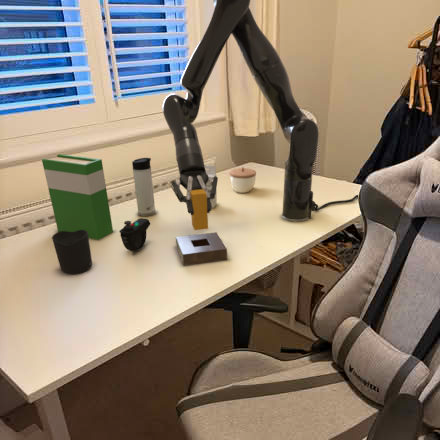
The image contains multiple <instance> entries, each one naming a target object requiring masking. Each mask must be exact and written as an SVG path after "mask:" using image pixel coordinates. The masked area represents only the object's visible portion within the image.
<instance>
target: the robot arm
mask: <svg viewBox="0 0 440 440" xmlns="http://www.w3.org/2000/svg"><path fill="white" fill-rule="evenodd" d="M250 4H251V0H213V7H214V9H213V13H212V16H211V19H210V21H209V24H208V26H207V28H206V30H205V32H204V34H203V36H202V38H201V40H200V41H199V43H198V45H197V46H196V48H195V49H194V51H193V53H192V55H191V57H190V59H189V61H188V63H187V65H186V66H185V70H184V71H183V73H182V76H181V78H180V85H181V86H182V88H183V89H185V90H186V97H183V96H181V95H179V94H176V93H170V94H169V95H167V96H166V97H165V99H164V100H163V104H162V113H163V117H164V120H165V122H166V124H167V126H168V128H169V130H170V133H171V134H172V136H173V142H174V146H175V156H176V157H175V159H176V164H177V167H178V173H179V178H178V179H177V180H171V183H170V184H171V185H170V188H171V189H172V191H173V193H174V195H175V196H176V198H177V200H178V202H179V203H185V204H186V209H187V213H188V214H190V216H191V215H193V214H194V209H193V205H192V200H191V194H190V191H191V190H199V189H203V190H205V192H206V193H207V214H210V212H211V211H212V209H213V208H212V206H211V201H210V199H214V198H215V194H216V192H217V187H218V181H219V177H218V176H217V175H216V176H215V177H214V178H212V177H209V176H208V175H207V173H206V170H207V169H206V167H205V166H204V165H205V162H204V156H203V151H202V148H201V145H200V141H199V136H198V131H197V128H196V127H195V125H194V122H195V121H196V119H197V117H198V115H199V111H200V107H201V102H202V97H203V93H204V89H205V88H206V85H207V84H208V82H209V78H210V77H211V75H212V72H213V71H214V68H215V66H216V65H217V62H218V60H219V58H220V56H221V54H222V52H223V50H224V47H225V46H226V44H227V42H228V40H229V39H230V37H231V35H232V37H233V38H234V40H235V42H236V44H237V46H238V48H239V51H240V53H241V55H242V57H243V59H244V61H245V64H246V66H247V68H248V70H249V72H250V74H251V76H252V77H253V80H254V82H255V84H256V85H257V87H258V89H259V90H260V92H261V93H262V95H263V97H264V99H265V100H266V102H267V103H268V105H269V106H270V108H271V109H272V111H273V113H274V114H275V117H276V119H277V122H278V125H279V126H280V129H281V131H282V134H283V136H284V139H285V140H286V141H287V143H289V151H288V157H287V158H286V159H285V161H284V162H285V163H284V176H283V177H284V179H283V195H282V214H281V218H282V219H283V220H284V221H288V222H293V223H301V222H305V221H309V220H311V219H312V214H313V213H312V212H319V210H322V209H324V208H326V207H328V206H330V205H334V204H336V205H337V204H346V203H351V202H354V201H355V200H357V199H359V198H358V195H359V194H356V195H354V196H353V197H352V198H349V199H343V200H335V201H328V202H326V203H324V204H323V205H321V206H319V205H318V204H317V203H316V202H315V201H314V198H313V197H314V191H313V190H312V183H313V171H314V164H315V162H316V159H317V154H318V146H319V133H320V131H319V126H318V125H317V123H316V122H315V121H314V120H312V119H310V118H308V117H307V116H305V114H304V113H303V111H302V109H300V107H299V105H298V103H297V101H296V100H295V98H294V95H293V91H292V86H291V81H290V76H289V74H288V72H287V69H286V67H285V65H284V63H283V61H282V59H281V57H280V55H279V53H278V52H277V50H276V48H275V47H274V45H273V44H272V43H271V41H270V40H269V38H268V37H267V36H266V35H265V33H264V32H263V31H262V30H261V28H260V27H259V25H258V24H257V21H256V20H255V17H254V15H253V13H252V11H251V8H250ZM208 181H209V182H210V185H211V186H212V190H211V193H208V191H207V187H206V186H205V185H206V184H207V182H208ZM181 186H182V187H183V188H184V189H185V190H186V194H185V195H184V193H183V191H182V190H181V189H180V188H181Z"/></svg>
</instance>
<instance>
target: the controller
mask: <svg viewBox="0 0 440 440" xmlns="http://www.w3.org/2000/svg"><path fill="white" fill-rule="evenodd" d="M123 224H124V226H123V227H122V228H121V229H120V230H119V234H120V238H121V242H122V245H123V247H124V248H125V249H126V250H128V251H130V252H139V251H141V250H142V249H143V247H144V246H145V243H146V241H147V230H148V228H149V227H150V226H151V225H152V224H151V222H150V220H149V219H148V218H143V217H142V218H138V219H136V220H135V221H131V220H125V221H123Z"/></svg>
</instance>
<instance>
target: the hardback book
mask: <svg viewBox="0 0 440 440" xmlns="http://www.w3.org/2000/svg"><path fill="white" fill-rule="evenodd" d="M41 162H42V167H43V171H44V176H45V179H46V184H47V189H48V194H49V198H50V202H51V206H52V211H53V216H54V219H55V225H56V228H57V232H60V231H68V232H75V231H78V230H85V231H87V232H88V238H89V239H92V240H96V241H99V240H101V239H103V238H106V237H107V236H108V235H110V234H112V233H114V227H113V222H112V216H111V209H110V204H109V203H110V202H109V197H108V190H107V183H106V179H105V171H104V167H103V166H104V165H103V159H101V158H94V157H86V156H84V157H83V156H77V155H69V154H57V155H56V157H55V158H51V159H50V158H49V159H48V158H42V159H41Z"/></svg>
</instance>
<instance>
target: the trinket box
mask: <svg viewBox="0 0 440 440" xmlns="http://www.w3.org/2000/svg"><path fill="white" fill-rule="evenodd" d="M256 176H257V171H256V170H255V169H252V168H245V167H241V168H234V169H231V170H230V171H229V181H230V185H231V187H232V189H233V190H234V192H236V193H240V194H245V193H246V194H247V193H250V192H251V190H252V189H253V188H254V186H255V184H256V180H257V179H256Z"/></svg>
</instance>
